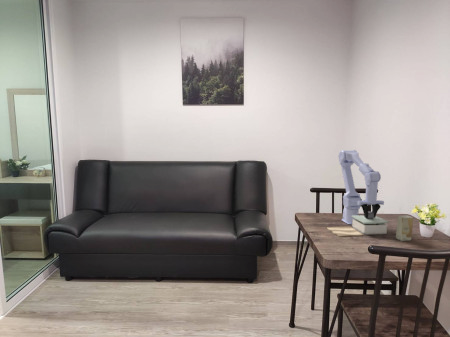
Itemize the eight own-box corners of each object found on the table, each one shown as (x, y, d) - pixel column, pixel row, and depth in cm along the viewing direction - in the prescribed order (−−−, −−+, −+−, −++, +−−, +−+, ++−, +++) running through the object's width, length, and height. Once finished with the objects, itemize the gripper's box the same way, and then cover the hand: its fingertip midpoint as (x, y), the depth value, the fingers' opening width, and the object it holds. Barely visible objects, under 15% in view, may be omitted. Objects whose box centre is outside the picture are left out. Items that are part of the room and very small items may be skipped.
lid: (351, 217, 200) (352, 209, 199) (374, 217, 201) (374, 209, 201) (364, 224, 186) (364, 215, 185) (388, 224, 188) (389, 215, 187)
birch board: (326, 228, 198) (326, 227, 198) (349, 227, 200) (349, 226, 200) (338, 236, 183) (338, 235, 183) (363, 235, 185) (363, 234, 185)
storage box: (352, 227, 200) (352, 219, 199) (373, 226, 202) (373, 218, 201) (364, 234, 187) (364, 225, 186) (386, 233, 189) (387, 224, 188)
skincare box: (401, 241, 177) (403, 217, 175) (395, 238, 181) (397, 215, 180) (412, 240, 179) (413, 217, 177) (405, 237, 183) (407, 214, 181)
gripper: (362, 195, 187) (361, 219, 189) (387, 194, 189) (386, 219, 190) (356, 192, 194) (354, 216, 195) (380, 192, 196) (378, 215, 197)
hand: (369, 217), depth 193 cm, fingers closed on lid, 4 cm apart
